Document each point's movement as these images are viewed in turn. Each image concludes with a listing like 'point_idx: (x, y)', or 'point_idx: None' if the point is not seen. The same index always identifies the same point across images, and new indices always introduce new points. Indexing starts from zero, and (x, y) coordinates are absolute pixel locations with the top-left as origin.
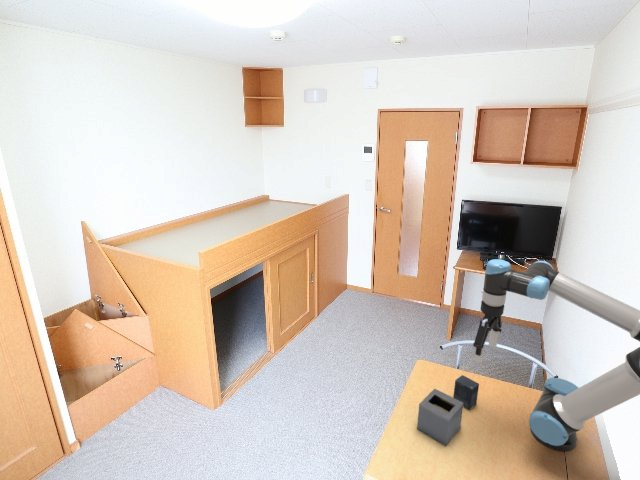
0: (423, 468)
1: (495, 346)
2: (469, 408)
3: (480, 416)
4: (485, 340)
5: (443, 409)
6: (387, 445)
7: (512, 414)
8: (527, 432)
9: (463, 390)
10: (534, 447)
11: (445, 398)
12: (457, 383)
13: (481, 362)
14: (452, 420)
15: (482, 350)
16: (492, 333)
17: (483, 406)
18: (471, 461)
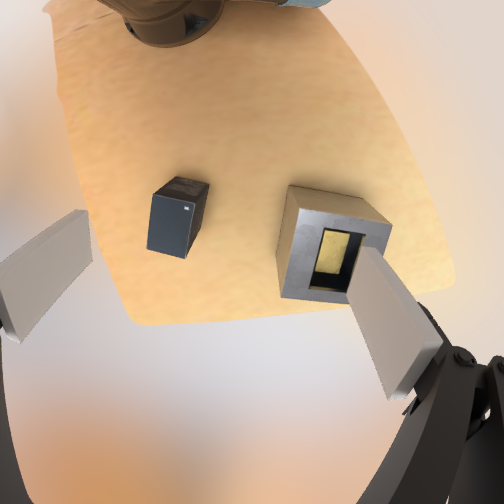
0: (428, 220)
1: (81, 217)
2: (208, 185)
3: (213, 153)
4: (436, 410)
5: (323, 246)
6: None
7: (155, 91)
8: (199, 46)
9: (194, 222)
10: (243, 25)
11: (309, 259)
12: (188, 248)
13: (378, 252)
14: (363, 214)
15: (426, 324)
16: (28, 310)
17: (170, 158)
18: (373, 139)
